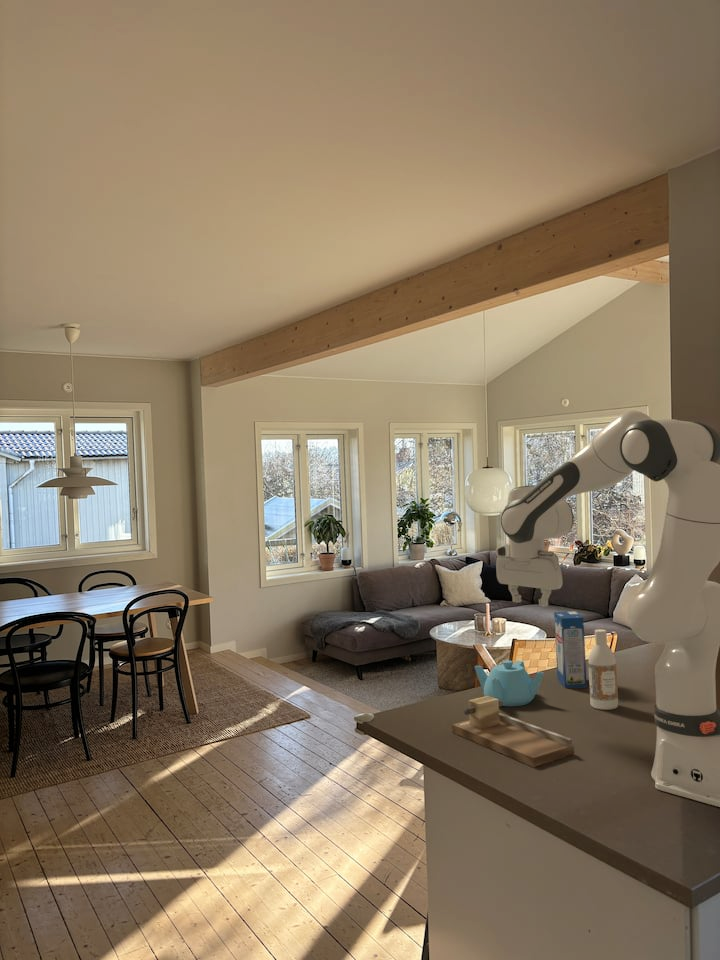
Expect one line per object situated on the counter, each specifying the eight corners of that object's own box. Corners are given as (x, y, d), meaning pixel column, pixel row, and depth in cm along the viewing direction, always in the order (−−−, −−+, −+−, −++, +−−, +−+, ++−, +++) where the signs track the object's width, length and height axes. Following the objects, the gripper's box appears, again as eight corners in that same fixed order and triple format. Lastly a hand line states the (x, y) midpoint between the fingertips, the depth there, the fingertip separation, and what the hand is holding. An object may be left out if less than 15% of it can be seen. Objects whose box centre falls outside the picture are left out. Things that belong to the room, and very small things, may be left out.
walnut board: (574, 754, 167) (573, 738, 167) (533, 767, 161) (532, 750, 161) (490, 722, 192) (490, 708, 192) (452, 732, 185) (452, 718, 185)
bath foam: (597, 711, 196) (593, 634, 196) (586, 703, 203) (582, 628, 202) (623, 709, 197) (619, 631, 196) (610, 701, 203) (607, 626, 203)
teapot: (548, 705, 203) (546, 665, 203) (494, 711, 200) (492, 670, 200) (524, 690, 218) (523, 652, 218) (474, 695, 215) (473, 657, 215)
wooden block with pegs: (507, 721, 185) (506, 697, 185) (472, 731, 180) (470, 706, 180) (496, 717, 189) (495, 693, 189) (461, 727, 183) (460, 702, 183)
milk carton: (557, 678, 228) (554, 612, 228) (578, 677, 228) (575, 611, 228) (565, 688, 218) (561, 618, 218) (586, 687, 218) (583, 617, 218)
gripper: (566, 550, 185) (569, 607, 185) (509, 546, 203) (511, 598, 203) (548, 553, 182) (551, 610, 182) (491, 549, 199) (493, 601, 199)
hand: (530, 604), depth 193 cm, fingers open, 8 cm apart
